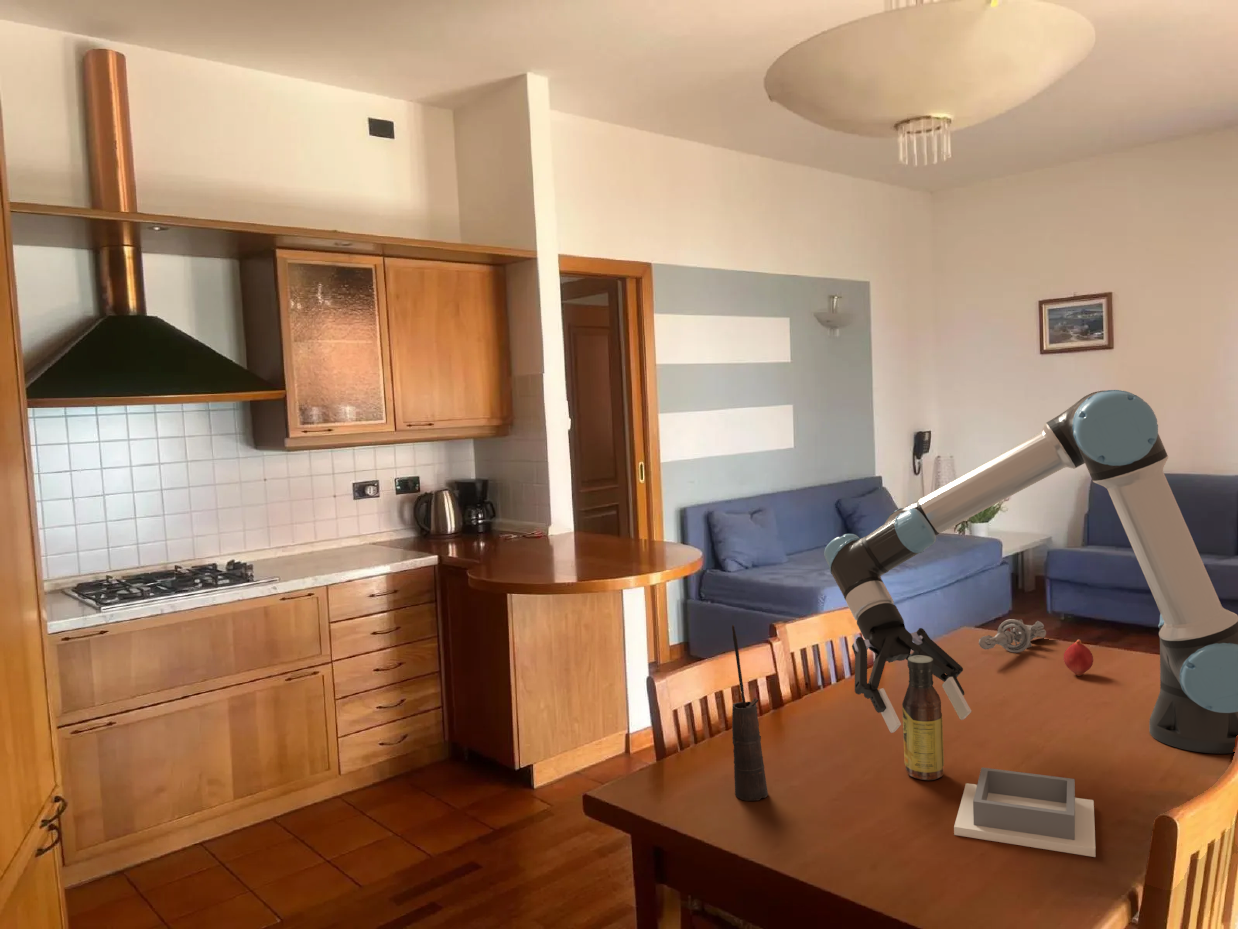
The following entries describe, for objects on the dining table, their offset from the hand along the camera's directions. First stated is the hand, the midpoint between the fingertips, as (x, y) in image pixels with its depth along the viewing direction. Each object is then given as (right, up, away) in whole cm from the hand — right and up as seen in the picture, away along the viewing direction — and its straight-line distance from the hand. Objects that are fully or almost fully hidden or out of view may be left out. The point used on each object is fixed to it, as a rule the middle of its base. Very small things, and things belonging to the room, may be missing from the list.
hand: (931, 722), depth 150 cm
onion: (+49, -4, +51) cm, 71 cm away
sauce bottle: (0, -10, +3) cm, 10 cm away
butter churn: (-29, -11, -1) cm, 31 cm away
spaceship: (+44, -3, +70) cm, 83 cm away
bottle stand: (+9, -10, -15) cm, 20 cm away
